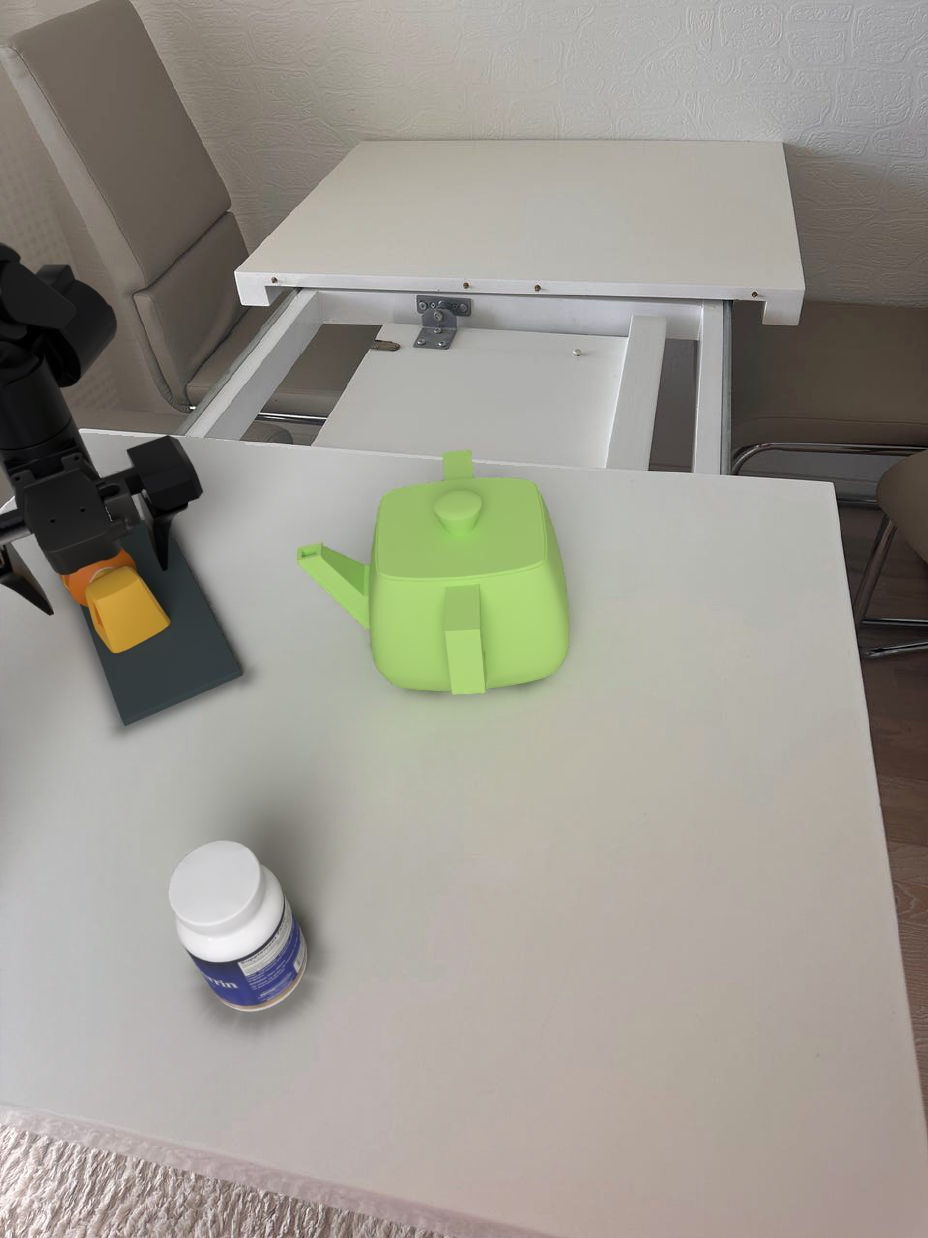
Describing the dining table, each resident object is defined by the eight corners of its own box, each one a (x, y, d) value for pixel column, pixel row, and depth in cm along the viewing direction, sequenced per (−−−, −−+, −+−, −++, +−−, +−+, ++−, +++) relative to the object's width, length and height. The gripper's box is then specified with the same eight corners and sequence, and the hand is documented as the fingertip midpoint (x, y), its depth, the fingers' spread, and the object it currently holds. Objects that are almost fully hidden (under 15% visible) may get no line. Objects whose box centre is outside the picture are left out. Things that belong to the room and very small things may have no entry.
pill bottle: (191, 970, 55) (134, 885, 48) (267, 900, 58) (225, 810, 50) (252, 1037, 52) (201, 956, 45) (330, 960, 55) (293, 873, 48)
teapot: (313, 756, 65) (269, 624, 56) (333, 560, 79) (301, 428, 70) (582, 737, 64) (584, 600, 55) (555, 542, 78) (552, 407, 69)
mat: (124, 726, 68) (122, 721, 68) (62, 555, 82) (60, 550, 82) (242, 675, 71) (240, 670, 70) (163, 517, 85) (161, 512, 84)
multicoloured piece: (55, 581, 79) (112, 658, 72) (27, 530, 75) (85, 606, 68) (114, 551, 81) (176, 623, 74) (91, 500, 78) (153, 570, 70)
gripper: (-104, 540, 57) (7, 704, 68) (193, 435, 62) (251, 604, 73) (-118, 450, 64) (-16, 612, 75) (149, 363, 69) (207, 526, 81)
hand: (108, 589), depth 76 cm, fingers open, 9 cm apart
